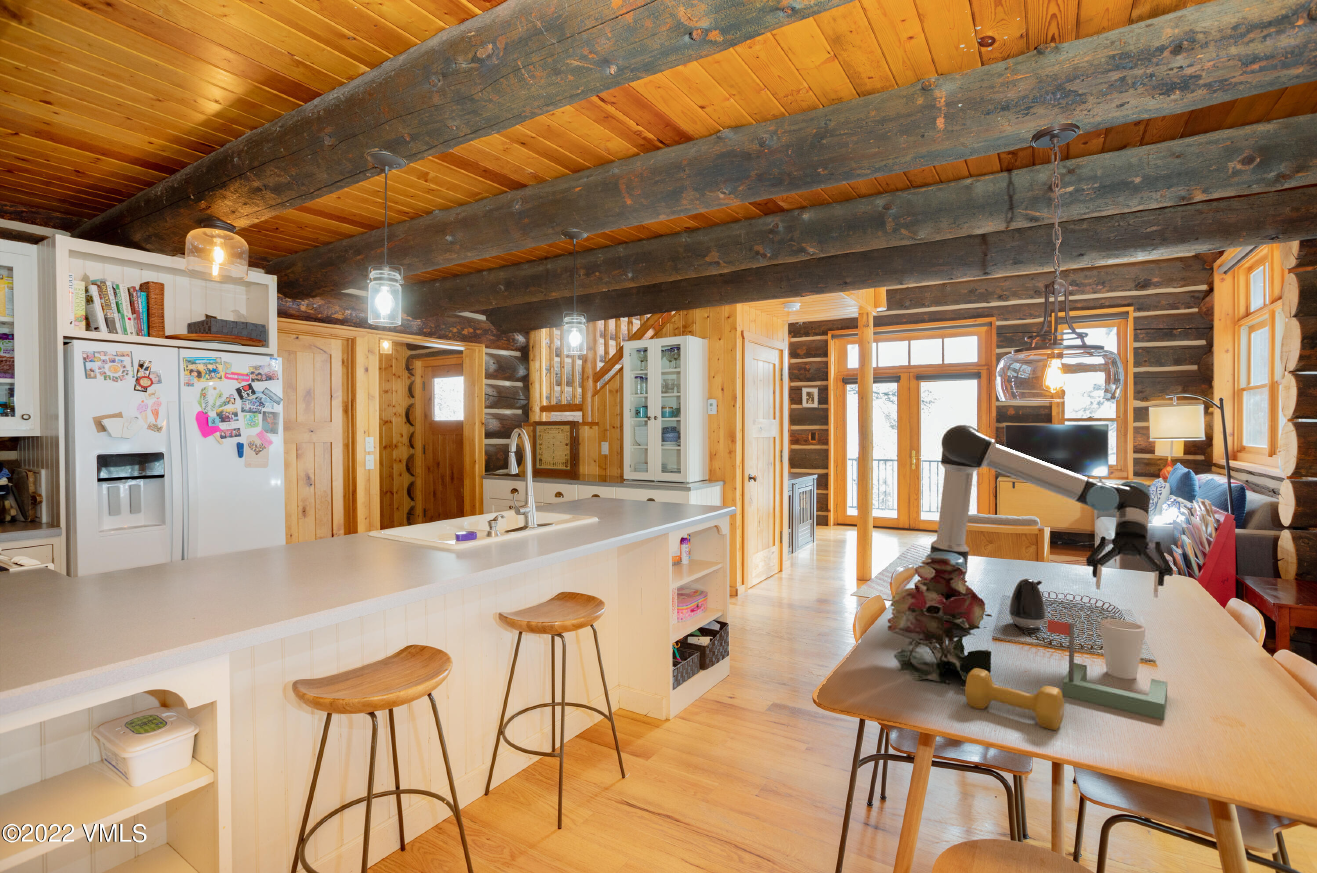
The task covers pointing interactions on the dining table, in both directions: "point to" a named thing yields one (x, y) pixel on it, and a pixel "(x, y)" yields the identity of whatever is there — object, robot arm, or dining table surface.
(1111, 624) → the foam cup
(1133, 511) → the robot arm
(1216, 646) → the dining table surface
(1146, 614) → the dining table surface
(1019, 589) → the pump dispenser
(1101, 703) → the putting pocket
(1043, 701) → the dumbbell
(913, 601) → the rose bouquet
